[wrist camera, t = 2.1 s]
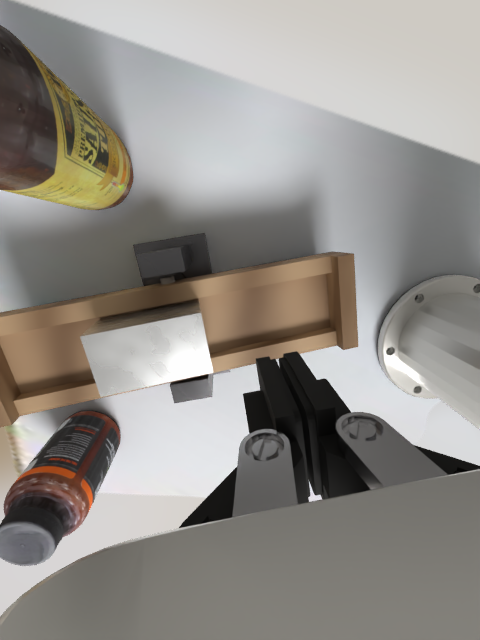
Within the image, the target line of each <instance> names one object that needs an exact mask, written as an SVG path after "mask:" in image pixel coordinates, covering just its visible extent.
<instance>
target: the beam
mask: <svg viewBox="0 0 480 640" xmlns="http://www.w3.org/2000/svg"><path fill="white" fill-rule="evenodd" d="M160 281H161V283H159V284H153V285H148V286H142V287H137V288H131V289H126V290H121V291H115V292H110V293H104V294H99V295H93V296H88V297H82V298H77V299H72V300H66V301H61V302H55V303H50V304H44V305H39V306H33V307H28V308H22V309H17V310H12V311H6V312H1V313H0V427H4V426H8V425H12V424H13V423H14V422H15V421H16V420H17V419H18V417H19V416H22V415H27V414H31V413H36V412H40V411H45V410H49V409H54V408H58V407H63V406H67V405H72V404H76V403H81V402H85V401H90V400H94V399H99V398H103V397H100V394H99V391H98V388H97V385H96V382H95V379H94V376H93V373H92V370H91V368H90V365H89V362H88V359H87V356H86V353H85V350H84V347H83V344H82V341H81V338H80V336H81V335H82V334H83V333H85V332H86V331H87V330H88V329H89V328H90V327H91V326H92V325H93V324H94V323H95V322H96V321H98V320H99V319H100V318H105V317H110V316H115V315H120V314H126V313H131V312H136V311H141V310H146V309H152V308H157V307H162V306H167V305H172V304H178V303H183V302H188V301H193V300H198V299H199V303H200V308H201V313H202V318H203V323H204V328H205V333H206V337H207V342H208V347H209V352H210V358H211V363H212V368H213V372H212V373H215V372H220V371H224V370H229V369H233V368H238V367H242V366H247V365H251V364H256V358H262V357H267V356H269V357H270V359H278V358H282V357H283V354H284V353H290V352H295V351H297V352H298V353H299V354H301V353H305V352H310V351H314V350H318V349H323V348H327V347H332V346H336V345H337V346H339V347H340V348H341V349H343V350H345V349H350V348H354V347H358V332H357V310H356V288H355V266H354V254H351V253H341V252H328V253H322V254H317V255H311V256H306V257H301V258H295V259H290V260H284V261H279V262H273V263H268V264H262V265H257V266H251V267H246V268H241V269H235V270H230V271H224V272H219V273H213V274H208V275H202V276H197V277H191V278H186V279H181V280H175V279H174V276H168V277H163V278H160ZM208 374H211V373H208ZM203 375H206V374H203ZM199 376H202V375H199ZM194 377H197V376H194ZM190 378H193V377H190ZM185 379H188V378H185ZM181 380H184V379H181ZM176 381H179V380H176ZM172 382H175V381H172ZM167 383H170V382H167ZM163 384H166V383H163ZM158 385H161V384H158ZM154 386H157V385H154ZM149 387H152V386H149ZM145 388H148V387H145ZM140 389H143V388H140ZM136 390H139V389H136ZM131 391H134V390H131ZM127 392H130V391H127ZM122 393H125V392H122ZM118 394H121V393H118ZM113 395H117V394H113ZM109 396H112V395H109ZM104 397H108V396H104Z"/></svg>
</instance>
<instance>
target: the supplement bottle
mask: <svg viewBox="0 0 480 640" xmlns="http://www.w3.org/2000/svg"><path fill="white" fill-rule="evenodd" d="M119 444H120V431H119V428H118V427H117V425H116V424H115V422H114V421H113V420H112V419H110V418H109V417H108V416H106V415H104V414H102V413H99V412H94V411H82V412H78V413H75V414H74V415H71V416H70V417H69V418H67V419H66V420H65V421H64V422H63V423H62V425H61V426H60V427H59V428H58V429H57V431H56V432H55V433H54V434H53V436H52V437H51V438H50V439H49V441H48V442H47V443H46V444H45V446H44V447H43V448H42V449H41V451H40V452H39V453H38V454H37V456H36V457H35V458H34V459H33V460H32V461H31V463H30V464H29V465H28V467H27V468H26V469H25V470H24V472H23V473H22V474H21V475H20V477H19V478H18V479H17V480H16V482H15V483H14V484H13V485H12V487H11V488H10V490H9V492H8V493H7V496H6V498H5V502H4V513H5V518H4V519H3V520H2V523H1V524H0V558H2V559H3V560H5V561H7V562H9V563H12V564H15V565H20V566H29V565H37V564H39V563H42V562H45V561H46V560H47V559H49V558H50V557H51V555H52V554H53V553H54V551H55V549H56V547H57V545H58V543H59V542H60V540H61V539H62V537H64V536H67V535H68V534H70V533H72V532H73V531H75V530H76V529H77V528H78V527H79V526H80V525H81V524H82V522H83V521H84V519H85V518H86V516H87V514H88V512H89V510H90V508H91V505H92V503H93V502H94V499H95V497H96V495H97V493H98V491H99V489H100V486H101V484H102V482H103V480H104V478H105V476H106V473H107V471H108V469H109V467H110V465H111V463H112V460H113V458H114V456H115V454H116V452H117V449H118V447H119Z"/></svg>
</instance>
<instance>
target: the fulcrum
mask: <svg viewBox="0 0 480 640" xmlns="http://www.w3.org/2000/svg"><path fill="white" fill-rule="evenodd" d="M133 246H134V250H135V254H136V258H137V261H138V265H139V269H140V273H141V277H142V281H143V285H144V286H148V285H153V284H159V283H161V281H160V278H163V277H168V276H174V279H175V280H181V279H186V278H191V277H197V276H202V275H208V274H212V270H211V265H210V260H209V254H208V249H207V244H206V238H205V233H202V234H196V235H190V236H184V237H178V238H172V239H166V240H160V241H154V242H148V243H142V244H136V245H133ZM225 372H230V369H229V370H224V371H220V372H215V373H211V374H206V375H202V376H197V377H193V378H188V379H184V380H179V381H175V382H171V384H170V387H171V391H172V395H173V399H174V403H179V402H184V401H190V400H196V399H202V398H207V397H212V388H213V375H214V374H220V373H225Z"/></svg>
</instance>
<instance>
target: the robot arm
mask: <svg viewBox="0 0 480 640" xmlns="http://www.w3.org/2000/svg"><path fill="white" fill-rule="evenodd" d="M378 356H379V361H380V364H381V367H382V369H383V371H384V373H385V374H386V376H387V377H388V378H389V380H390V381H391V382H393V383H394V384H395V385H396V386H397V387H398V388H400V389H401V390H403V391H404V392H405V393H407V394H410V395H412V396H415V397H420V398H426V399H437V398H439V399H440V400H441V401H443V402H444V403H445V404H446V405H448V406H449V407H450V408H452V409H453V410H454V411H456V412H457V413H458V414H460V415H461V416H462V417H463V418H465V419H466V420H467V421H469V422H470V423H471V424H473V425H474V426H475V427H477V428H478V429H479V430H480V280H479V279H477V278H474V277H469V276H463V275H444V276H439V277H434V278H432V279H429V280H426V281H424V282H422V283H420V284H418V285H417V286H415V287H413V288H411V289H410V290H409V291H408V292H406V293H405V294H404V295H403V296H402V297H401V298H400V299H399V300H398V301H397V302H396V303H395V304H394V305H393V307H392V308H391V310H390V311H389V313H388V314H387V316H386V317H385V320H384V322H383V325H382V327H381V330H380V334H379V339H378ZM256 365H257V371H258V378H259V384H260V391H255V392H249V393H244V394H243V397H244V403H245V409H246V415H247V421H248V427H249V433H250V434H249V435H247V436H246V437H245V438H244V439H243V440H242V442H241V444H240V447H239V456H238V466H237V467H236V468H235V469H234V470H233V471H232V472H231V473H230V474H229V475H228V476H227V477H226V479H225V480H224V481H223V482H222V483H221V484H220V485H219V486H218V487H217V488H216V489H215V490H214V491H213V492H212V493H211V494H210V495H209V496H208V497H207V498H206V499H205V500H204V501H203V502H202V503H201V504H200V506H198V508H197V509H196V510H195V511H194V512H193V513H192V514H191V515H190V516H189V517H188V518H187V519H186V520H185V521H184V522H183V523H182V525H181V526H180V527H179V528H178V529H174V530H170V531H165V532H161V533H157V534H153V535H148V536H144V537H140V538H136V539H132V540H129V541H126V542H122V543H119V544H116V545H113V546H110V547H107V548H104V549H102V550H99V551H97V552H95V553H92V554H90V555H88V556H85V557H83V558H81V559H78V560H77V561H75V562H73V563H71V564H69V565H68V566H66V567H64V568H62V569H60V570H59V571H57V572H55V573H53V574H51V575H50V576H48V577H47V578H45V579H44V580H43V581H41V582H39V583H38V584H36V585H35V586H34V587H32V588H31V589H30V590H28V591H27V592H26V593H24V594H23V595H22V596H21V597H19V598H18V599H17V600H16V602H14V603H13V604H12V605H11V606H10V607H9V608H8V609H7V610H6V611H5V612H4V613H3V614H2V615H1V617H0V640H480V466H478V465H475V464H472V463H469V462H465V461H462V460H459V459H456V458H453V457H450V456H446V455H443V454H440V453H437V452H433V451H431V450H427V449H424V448H421V447H418V446H415V445H412V444H411V443H410V442H409V441H408V440H407V439H405V438H404V437H403V436H402V435H401V434H399V433H398V432H397V431H396V430H395V429H394V428H392V427H391V426H390V425H389V424H388V423H387V422H385V421H384V420H383V419H381V418H380V417H378V416H375V415H373V414H370V413H364V412H353V413H351V411H350V410H349V409H348V407H347V406H346V405H345V403H344V402H343V401H342V399H341V398H340V397H339V395H338V394H337V393H336V391H335V390H334V389H333V387H332V386H331V385H330V383H329V382H328V381H327V380H326V379H320V380H317V379H316V378H315V377H314V375H313V374H312V372H311V371H310V369H309V368H308V366H307V365H306V363H305V362H304V360H303V359H302V357H301V356H300V354H299V353H298V352H297V351H295V352H290V353H284V354H283V357H282V358H279V365H280V368H279V366H278V364H277V362H276V359H270V357H269V356H267V357H262V358H256ZM308 479H309V480H308ZM309 481H310V484H311V487H312V489H313V492H314V494H315V495H320V494H321V497H322V499H323V500H317V501H312V502H309V500H308V497H310V488H309Z"/></svg>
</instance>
